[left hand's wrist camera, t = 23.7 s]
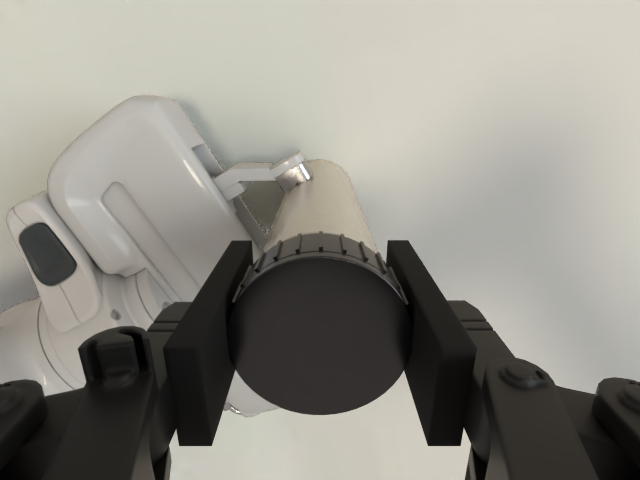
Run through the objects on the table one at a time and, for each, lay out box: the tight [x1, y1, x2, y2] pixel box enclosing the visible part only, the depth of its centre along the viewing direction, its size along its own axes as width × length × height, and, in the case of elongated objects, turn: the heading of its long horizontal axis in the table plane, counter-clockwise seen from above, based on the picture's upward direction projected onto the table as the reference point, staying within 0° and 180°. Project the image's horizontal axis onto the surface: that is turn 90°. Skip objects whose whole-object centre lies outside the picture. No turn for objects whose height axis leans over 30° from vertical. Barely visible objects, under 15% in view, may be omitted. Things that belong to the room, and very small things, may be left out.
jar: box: [263, 160, 378, 253], centre depth 19 cm, size 5×5×18 cm
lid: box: [227, 231, 413, 415], centre depth 11 cm, size 5×5×2 cm
